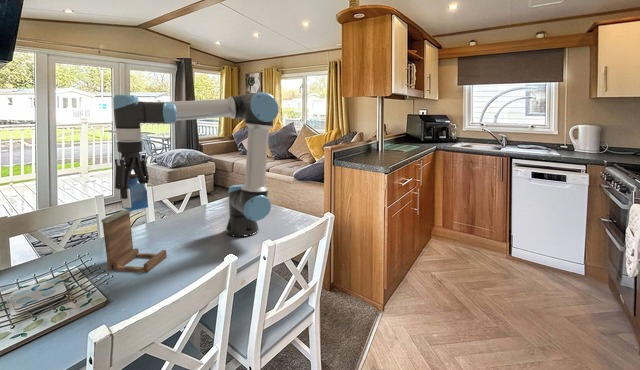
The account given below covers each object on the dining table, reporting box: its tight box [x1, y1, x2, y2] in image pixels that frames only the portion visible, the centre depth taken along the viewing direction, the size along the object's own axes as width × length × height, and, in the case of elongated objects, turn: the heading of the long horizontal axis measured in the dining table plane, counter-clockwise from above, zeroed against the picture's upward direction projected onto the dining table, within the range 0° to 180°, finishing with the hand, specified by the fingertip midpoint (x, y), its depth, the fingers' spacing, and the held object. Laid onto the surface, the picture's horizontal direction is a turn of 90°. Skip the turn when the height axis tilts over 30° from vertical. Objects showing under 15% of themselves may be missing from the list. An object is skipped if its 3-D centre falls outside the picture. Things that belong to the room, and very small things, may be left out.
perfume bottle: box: [119, 173, 149, 211], centre depth 120 cm, size 6×6×12 cm
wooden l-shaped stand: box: [100, 209, 168, 273], centre depth 125 cm, size 15×14×19 cm
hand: (135, 203), depth 121 cm, fingers closed on perfume bottle, 8 cm apart
